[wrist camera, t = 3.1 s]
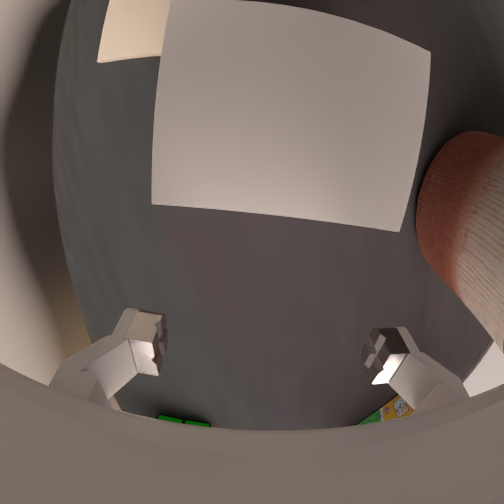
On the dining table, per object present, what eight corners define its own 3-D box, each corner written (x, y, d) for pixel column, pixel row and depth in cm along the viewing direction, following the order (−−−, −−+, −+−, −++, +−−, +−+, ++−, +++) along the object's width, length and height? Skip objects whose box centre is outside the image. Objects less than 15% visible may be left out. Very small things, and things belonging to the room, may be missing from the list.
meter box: (211, 65, 19) (160, 2, 6) (335, 82, 19) (430, 52, 7) (201, 158, 22) (142, 212, 10) (321, 172, 23) (396, 239, 11)
